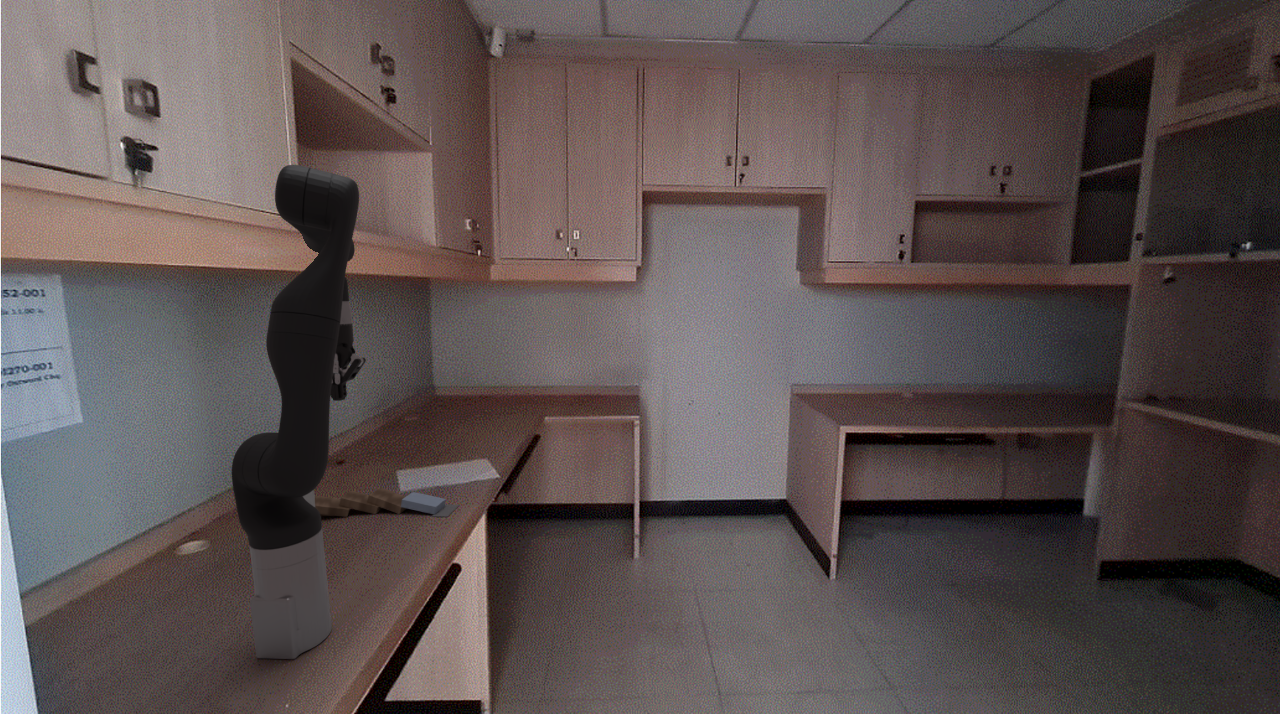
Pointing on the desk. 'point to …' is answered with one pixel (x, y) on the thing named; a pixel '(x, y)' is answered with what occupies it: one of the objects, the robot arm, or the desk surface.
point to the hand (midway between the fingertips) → (339, 400)
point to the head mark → (445, 511)
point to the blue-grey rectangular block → (423, 503)
